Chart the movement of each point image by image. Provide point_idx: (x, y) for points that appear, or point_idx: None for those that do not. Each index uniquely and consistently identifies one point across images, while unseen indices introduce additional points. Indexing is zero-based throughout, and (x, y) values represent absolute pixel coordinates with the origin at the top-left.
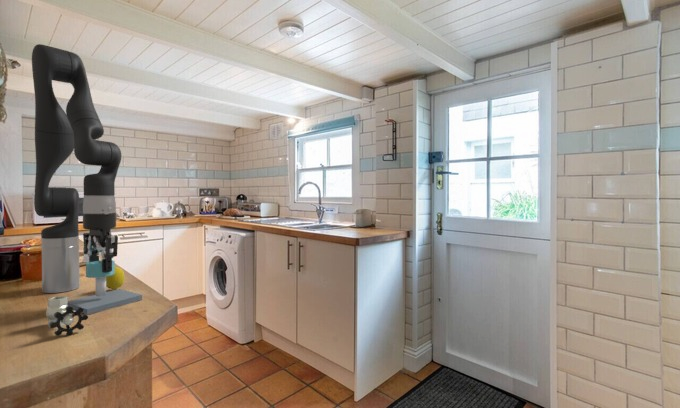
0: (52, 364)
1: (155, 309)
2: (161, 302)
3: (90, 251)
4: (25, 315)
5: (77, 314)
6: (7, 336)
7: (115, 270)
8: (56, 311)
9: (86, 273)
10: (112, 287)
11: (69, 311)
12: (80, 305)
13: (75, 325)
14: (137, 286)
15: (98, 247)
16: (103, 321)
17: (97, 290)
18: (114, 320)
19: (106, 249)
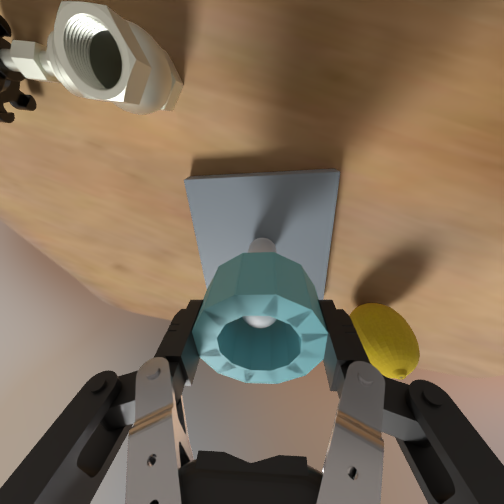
0: None
1: (115, 282)
2: (159, 309)
3: (339, 406)
4: (373, 32)
5: None
6: None
7: (374, 360)
8: (49, 36)
9: (269, 261)
10: (357, 307)
11: None
12: (243, 183)
13: (5, 83)
14: None
15: (141, 459)
16: (99, 179)
17: (254, 249)
18: (90, 199)
19: (56, 444)
